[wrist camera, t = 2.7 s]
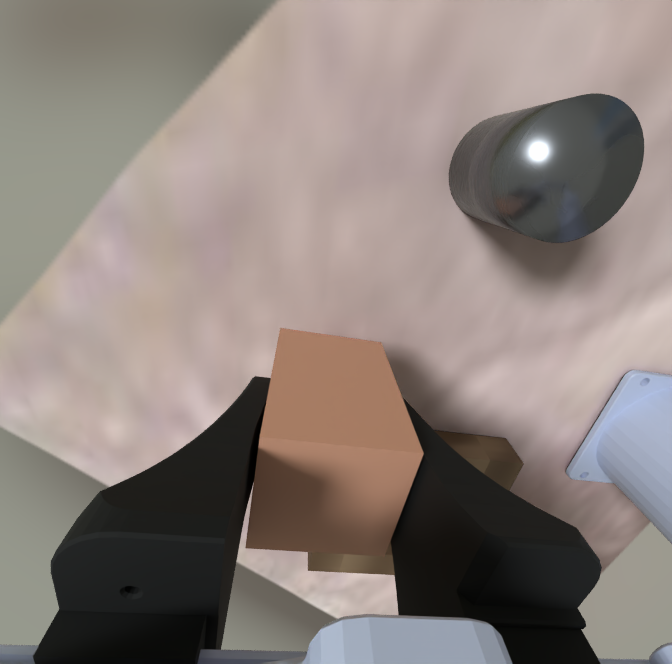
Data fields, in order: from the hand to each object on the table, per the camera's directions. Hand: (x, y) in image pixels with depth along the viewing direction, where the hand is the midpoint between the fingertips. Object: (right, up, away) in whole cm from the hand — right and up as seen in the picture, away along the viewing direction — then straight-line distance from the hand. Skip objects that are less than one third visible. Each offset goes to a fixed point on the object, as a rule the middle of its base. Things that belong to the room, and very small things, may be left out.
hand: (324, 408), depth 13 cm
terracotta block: (0, +1, +2) cm, 2 cm away
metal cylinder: (+7, +10, +2) cm, 12 cm away
